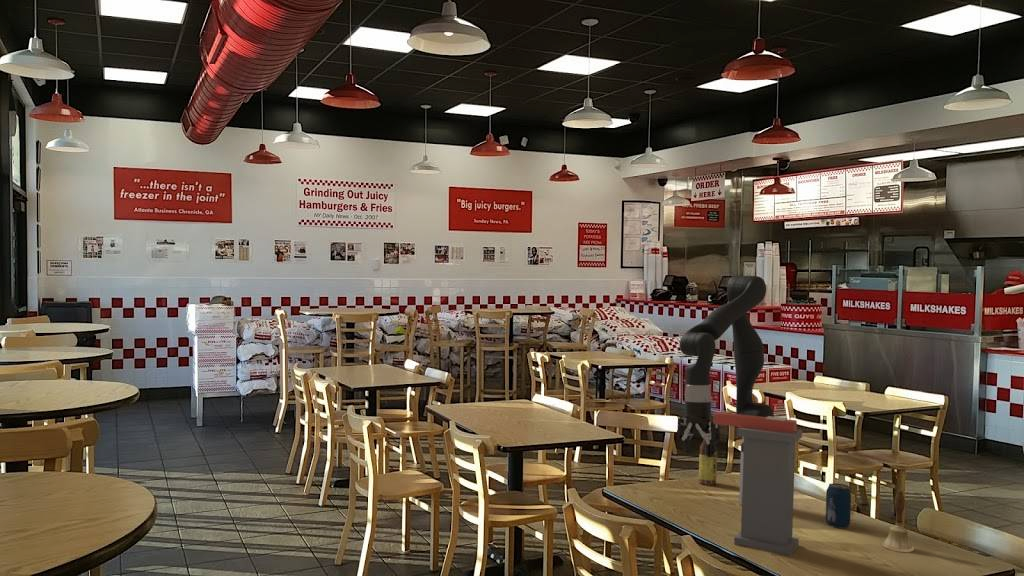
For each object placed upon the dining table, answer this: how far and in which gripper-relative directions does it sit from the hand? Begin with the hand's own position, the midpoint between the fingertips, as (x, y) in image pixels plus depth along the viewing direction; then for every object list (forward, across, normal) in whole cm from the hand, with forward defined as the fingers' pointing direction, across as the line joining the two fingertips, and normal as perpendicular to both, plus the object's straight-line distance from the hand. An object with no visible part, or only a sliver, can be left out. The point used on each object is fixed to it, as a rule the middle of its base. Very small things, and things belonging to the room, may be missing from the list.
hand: (698, 455), depth 239 cm
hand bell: (+24, -41, -35) cm, 59 cm away
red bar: (-10, -18, -2) cm, 21 cm away
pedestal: (+22, -20, -4) cm, 30 cm away
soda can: (+22, -20, -39) cm, 49 cm away
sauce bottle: (+18, +34, -44) cm, 58 cm away
